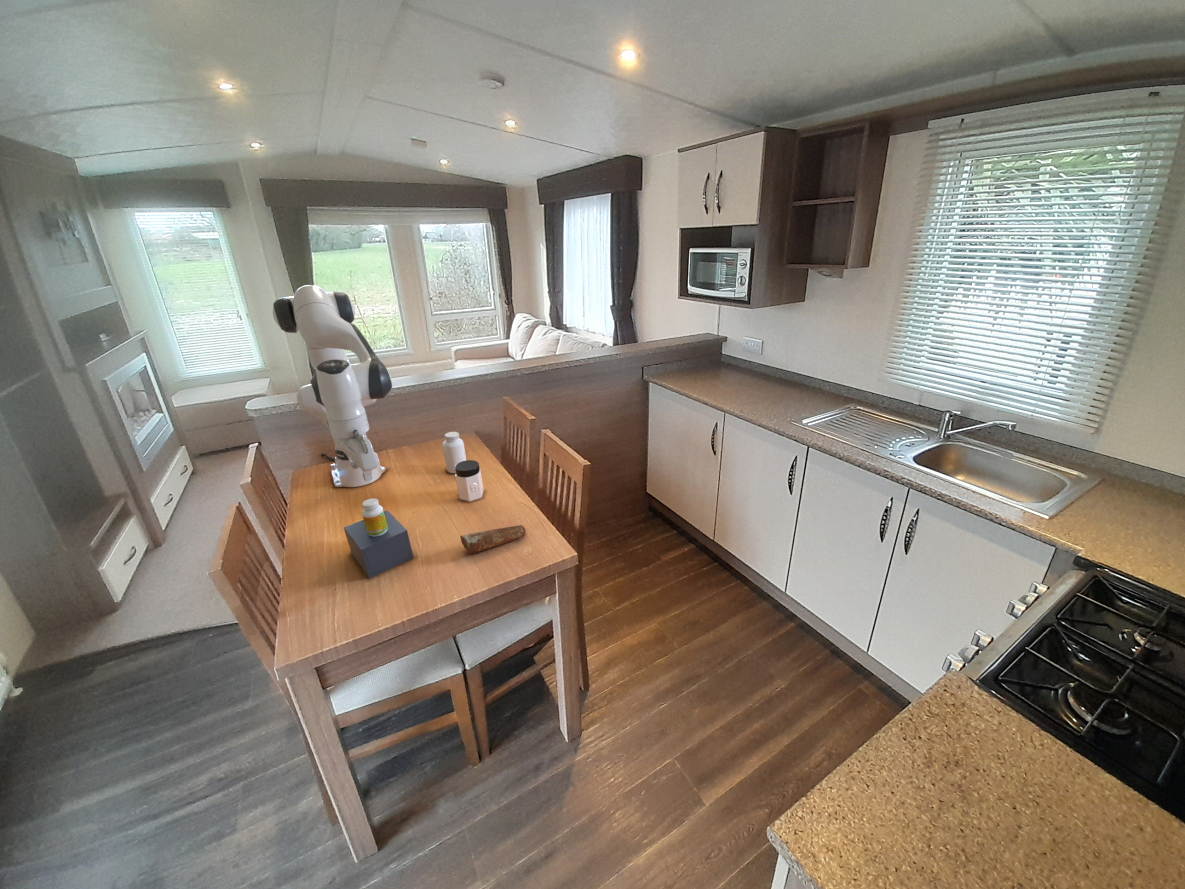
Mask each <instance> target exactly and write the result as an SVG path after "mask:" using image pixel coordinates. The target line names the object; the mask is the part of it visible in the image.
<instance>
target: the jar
mask: <svg viewBox="0 0 1185 889" xmlns="http://www.w3.org/2000/svg"><path fill="white" fill-rule="evenodd" d="M481 470H482V469H481V468H480V463H479V462H478V461H476V460H473V459H466V461H462V462H460V463H458V464H456V466H455V471H456V473H455V475H454V476H455V482H456V489H457V494H458V499H459V500H461V501H465V502H469V503H470V502H472V501H476V500H480V499H482V498H483V495H484V484H483V478H482V477H483V476H482V471H481Z"/></svg>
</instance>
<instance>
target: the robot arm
mask: <svg viewBox="0 0 1185 889" xmlns="http://www.w3.org/2000/svg"><path fill="white" fill-rule="evenodd" d="M355 315H356V308H355V304H354V302H353V301H352V299H351V298H350V297H349V295H348V294H346V293H345V292H343V291H334V290H333V292H329V291H326V290H325V289H324V288H322V287H320V286H318V285H313V284H307V285H303V286H300V287H299V288H298V289H296V291H294V294H293V296H283V297H280V298H277V299H276V300H274V302H273V303H272V317H273V319H274V322H275V323H276V325H277V326H278V327H279V329H280V330H281V331H283V332H285V333H288V334H289V333H290V334H297V333H299V334H300V336H301V338H302V339H303V343H304V346H305V349H306V354H307V355H308V360H309V363H310V366H311V367H312V368H313V369H314V370H315V373H314V374H313V376H312V377H311V379H310V384H307V385H304V386H301V387H300V388H299V389H298V391H297V394H296V402H297V405H298V407H299V408H300V409H301V410H302V412H304V413H305V414H307V415H310V416H312V417H314V418H316V419H318V420H320V421H321V422H322V423H323V424H324V425H325V426H326V428H327V429H328V430H329V433H330V435H331V438H332V440H333V444H334V454H335V457H334V458H333V457H332V456H328V455H327V454H326V453H324V452H323V453H321V457H323V456H324V457H325V458H327V459H328V460H332V461H334V463H333V464H330V468H331V471H330V472H331V476H332V481H333V485H334V487H335V488H343V487H344V488H356V487H363V486H366V485H369V484H372V483H374V482H376V481H377V480H378V479H379V478H381V476H382V475H383V473H385V472H386V471H387V469H386V467H385V466H383V465H381V462H380V459H379V456H378V454H377V452H375V450H374V447H373V445H372V442H371V440H370V439H369V438H368V436H367V435H368V434H367V432H369V431H370V424H369V420H368V415H367V411H366V409H365V407H368V406H371V405H373V404H375V403H376V402H377V400H380V399H384V398H385V397H387V395H388V394H389V393H390V392H391V390H392V388H393V380H392V377H391V373H390V372H389V370H388V368H387V367H386V366H385V364H384V363H383V362H382V361H381V360H380V358H379V357H378V356H377V354H376V352H375V351H374V350H373V348H372V347H371V345H370V343H369V342H368V341H367V338H366V337H365V335H363V333H362V332H361V330H360V329H359V328H358V327H357V326H356V325H355V324H354V323H353V322H354V321H355ZM346 351H349V352H352V353H353V354H354V355H355V356H356V358H357V359H358V361H359V363H354V364H351V363H350V361H349V358H348V356H347V353H346Z"/></svg>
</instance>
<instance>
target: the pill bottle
mask: <svg viewBox="0 0 1185 889" xmlns="http://www.w3.org/2000/svg"><path fill="white" fill-rule="evenodd" d="M441 446H442V452H443V459H444V463H445V468H446V471H447V473H448V474H449V473H450V474H456V471H455V466H456V464H458V463H460V462H462V461H466V460H467V457H466V456H467V455H466V449H465V443H464V440H463V439H462V438H460V433H459V432H458V431H449V432H446V433H445V434H444V441H443V442H442V445H441Z"/></svg>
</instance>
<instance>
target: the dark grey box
mask: <svg viewBox="0 0 1185 889" xmlns="http://www.w3.org/2000/svg"><path fill="white" fill-rule="evenodd" d="M384 514H385V518H386V522H387V526H388V530H387V532H386V533H384V534H382V535H380V536H376V537H372V536H369V535H368V533H367V530H366V527H365V523H364V519H361V520H358V521H356V522H354V523H350V524H348V525H346V526H344V527H343V530H344V533H345V537H346V540H347V543H348V547H349V550H350V554H351V555H352V557H353V559H354V560H355V561H356V562H357V564H358V565H359V567H360V568H361V569H362V570H363V572H364V573H365V575H366V576H367V577H368V578H369V579H371V578H373V577H376V576H378V575H380V574H382V573H385V572H386V571H388V570H390V569H393V568H395V567H397V566H399V565H401V564H403V563H406V562H408V561H410V560H412V559H414V553H413V549H412V545H411V541H410V536H409V533H408V532H409V531H408V530H407V528H406V527H405V526H403V524H402V523H401V522H400V521H399V520H398V519H397V518H396V517H395V516H394V515H393V514H392V513H391V512H390V511H389V510H388V509H386V510H384Z"/></svg>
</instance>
